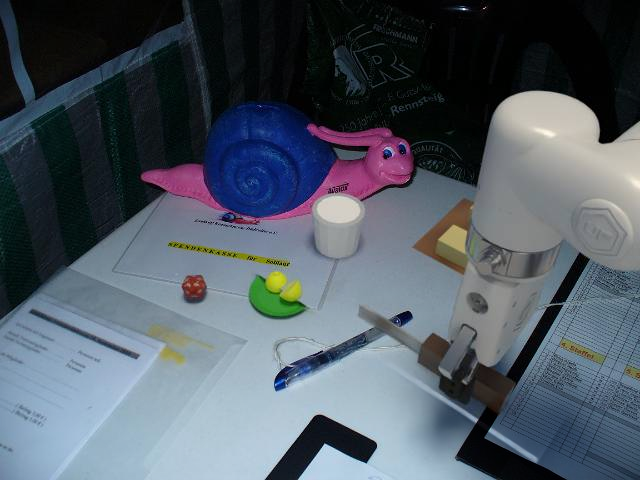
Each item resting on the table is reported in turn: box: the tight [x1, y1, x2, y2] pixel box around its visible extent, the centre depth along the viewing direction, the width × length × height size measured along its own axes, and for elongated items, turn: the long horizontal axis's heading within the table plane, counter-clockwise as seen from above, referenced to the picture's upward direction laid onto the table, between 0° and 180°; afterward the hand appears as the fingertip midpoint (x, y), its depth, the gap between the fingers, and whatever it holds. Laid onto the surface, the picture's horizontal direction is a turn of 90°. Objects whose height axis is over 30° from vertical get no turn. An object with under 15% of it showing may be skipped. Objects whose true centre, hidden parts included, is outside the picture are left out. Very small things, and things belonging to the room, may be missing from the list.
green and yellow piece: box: [248, 270, 308, 317], centre depth 73 cm, size 8×8×3 cm
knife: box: [358, 302, 517, 415], centre depth 66 cm, size 19×2×4 cm, turn 50°
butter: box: [435, 225, 469, 269], centre depth 78 cm, size 6×4×2 cm, turn 50°
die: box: [180, 274, 208, 300], centre depth 73 cm, size 3×3×3 cm
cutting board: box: [411, 197, 474, 275], centre depth 81 cm, size 12×14×1 cm
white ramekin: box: [311, 192, 366, 260], centre depth 78 cm, size 7×7×7 cm
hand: (477, 364), depth 61 cm, fingers open, 9 cm apart
